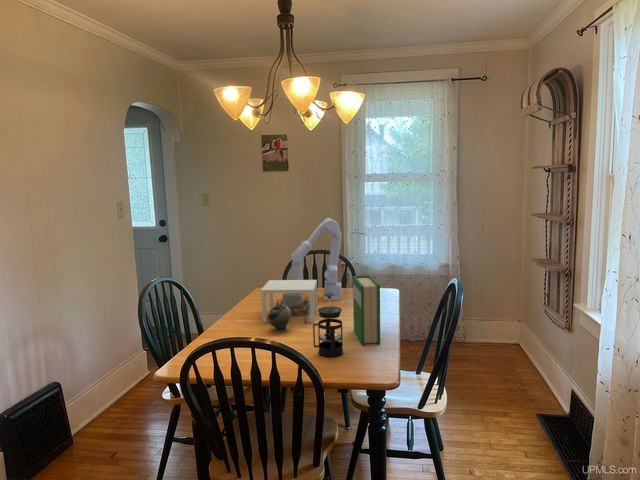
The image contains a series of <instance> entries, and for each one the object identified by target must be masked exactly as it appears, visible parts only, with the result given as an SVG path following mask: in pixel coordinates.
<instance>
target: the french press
mask: <svg viewBox="0 0 640 480" xmlns="http://www.w3.org/2000/svg"><path fill="white" fill-rule="evenodd" d="M334 295H335V294H334V293H325V292H324V294H323V296H328V299H329V300H328V305H329V306H322V307H319V308H317V312H318V316H319V317H320V318H323V319H321V320H318V322H317V323H316V322H314V323H312V333H313V334H312V335H313V336H312V338H313V340H312V343H313V347H314V349H315V348H318V351H317V352H318V355H319V356H320V357H322V358H326V359H327V358H328V359H333V358H338V357H342V356H343V355H344V349H343V345H344V344H343V343H344V342H343V321H342V320H340V319H338V318H340V316H341V312H342V311H343V309H342V308H341V307H339V306H331V300H330V299H331V296H334ZM324 323H325V325H322V324H324ZM331 323H337V325H332V324H331ZM316 326H317V327H318V329H317V335H318V344H316V331H315V327H316ZM320 329H322V330H325V333H322V334H320ZM338 329H340V334H339V333H337V332H336V330H338Z"/></svg>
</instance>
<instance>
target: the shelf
mask: <svg viewBox="0 0 640 480" xmlns="http://www.w3.org/2000/svg"><path fill="white" fill-rule="evenodd" d="M317 280H318V279H303V280H292V279H274V280H273V279H272V280H271V279H269V280H268V281H267V282H266V283H265V285H264V286H263V287H262V288H261V289H260V295H261V296H260V297H261V298H260V300H261V320H262V321H261V323H263V324H266V323H267V322H268V323H270V322H269V321H268V317H267V316H268V315H267V313H268V312H267V294H268V300H269V302H268V303H269V304H268V305H269V312H270V311H271V310H272V308H273V307H275V305H274V302H275V301H274V294H283V293H304V294H308V295H309V298H308V300H309V301H310V307H309V310H308V313H307V315H306V316H305V321H304V322H305V323H306V324H308V321H309V323H310V324H314V323H315V312H318V283H317V282H318V281H317ZM282 300H283V297H281V300H280V301H279V302H278V304H280V303H281V301H282Z"/></svg>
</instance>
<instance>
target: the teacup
mask: <svg viewBox="0 0 640 480" xmlns="http://www.w3.org/2000/svg"><path fill="white" fill-rule="evenodd" d="M304 294H305V293H282V298H283V305H286V306H287V307H288V308H289V309H301V307H302V306H304V305H303V302H304V300H305V297H304Z"/></svg>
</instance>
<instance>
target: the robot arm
mask: <svg viewBox="0 0 640 480" xmlns="http://www.w3.org/2000/svg"><path fill="white" fill-rule="evenodd" d="M327 231H329V234H331V236H332V239H331V246H330V252H329V257H328V258H329V259H328V264H327V266H326V270H325V271H324V274H323V275H324V278H325V280H324V294H325V293H334V294H335V295H334V296H331V299H330V301H341V300H342V297H343V291H342V282H339V281H338V279H339V276H338V263H339V257H340V252H341V245H342V238H343V233H342V230H341V229H340V225H339V223H338V222H337V221H336V220H335V219H332V218H330V217H327V218H325V219H324V220H323V221H321V223H320V224H318V226H317V227H316V228H315V229H314V231H313V233H311V235H310V236H309V237H308V239H307V240H303V241H301V242H300V243H299V244H300V245H298V247H297V249H294V252H292V254H291V256H290V259H291V280H304V279H303V278H304V275H303V271H304V270H303V260H304V257H306V256H307V255H308V253H309V252H310V251H311V250H312V248H313V246H312V245H313V243H314V242H316V240H317V239H318V238H319V237H320V236H321V234H324V233H327ZM323 296H324V295H323ZM323 301H329V299H328V296H324V298H323Z"/></svg>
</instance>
